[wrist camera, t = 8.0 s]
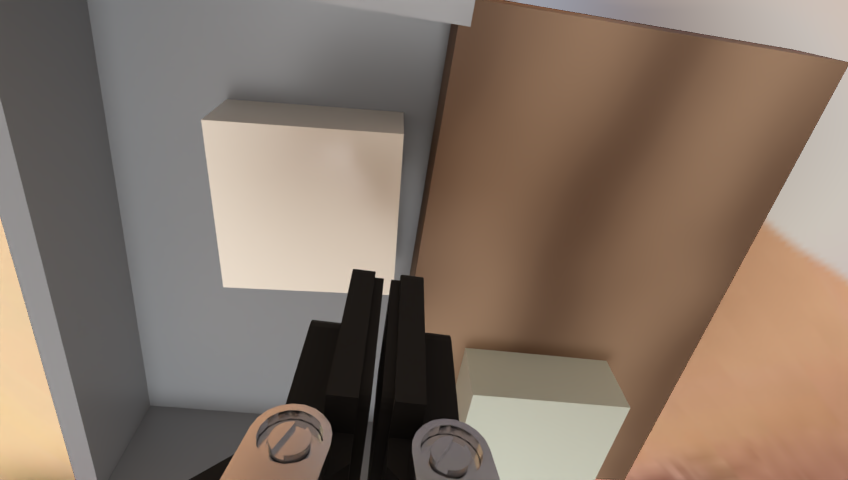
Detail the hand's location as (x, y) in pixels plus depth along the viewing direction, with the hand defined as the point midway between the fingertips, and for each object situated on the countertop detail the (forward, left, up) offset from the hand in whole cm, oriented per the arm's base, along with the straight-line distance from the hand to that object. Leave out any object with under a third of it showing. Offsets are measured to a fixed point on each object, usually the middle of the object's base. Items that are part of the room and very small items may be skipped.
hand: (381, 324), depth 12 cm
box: (+5, +3, -8) cm, 10 cm away
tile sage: (-7, +9, -6) cm, 12 cm away
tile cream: (+3, 0, -8) cm, 8 cm away
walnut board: (-7, +3, -8) cm, 12 cm away
